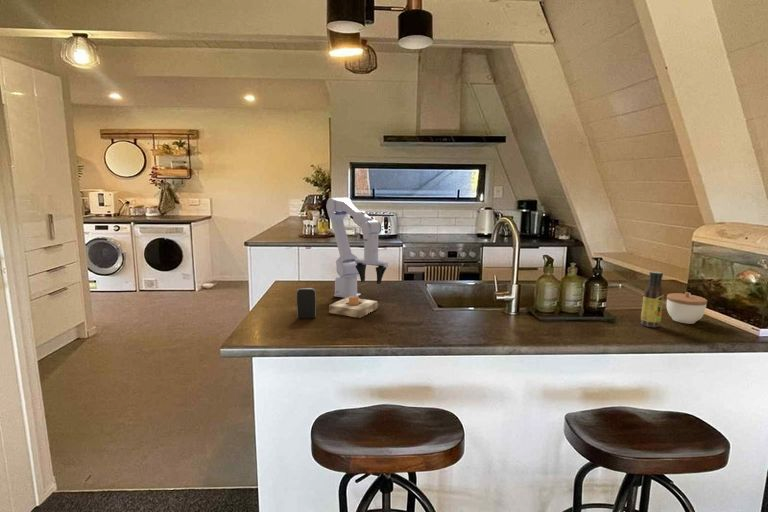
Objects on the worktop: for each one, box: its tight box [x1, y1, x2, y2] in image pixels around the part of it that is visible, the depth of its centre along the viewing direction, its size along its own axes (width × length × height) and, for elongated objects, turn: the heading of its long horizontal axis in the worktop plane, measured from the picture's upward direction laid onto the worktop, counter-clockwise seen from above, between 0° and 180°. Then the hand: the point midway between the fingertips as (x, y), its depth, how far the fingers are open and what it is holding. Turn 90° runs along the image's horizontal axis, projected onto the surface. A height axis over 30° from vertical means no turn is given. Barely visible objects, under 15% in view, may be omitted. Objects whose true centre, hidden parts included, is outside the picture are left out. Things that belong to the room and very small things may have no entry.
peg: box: [349, 296, 360, 306], centre depth 176 cm, size 4×4×6 cm
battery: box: [296, 287, 317, 320], centre depth 166 cm, size 7×4×11 cm, turn 95°
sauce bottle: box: [640, 270, 665, 328], centre depth 161 cm, size 6×6×20 cm
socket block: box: [328, 297, 379, 319], centre depth 176 cm, size 14×14×3 cm
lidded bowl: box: [666, 291, 708, 325], centre depth 168 cm, size 13×13×11 cm
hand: (370, 282), depth 183 cm, fingers open, 7 cm apart
